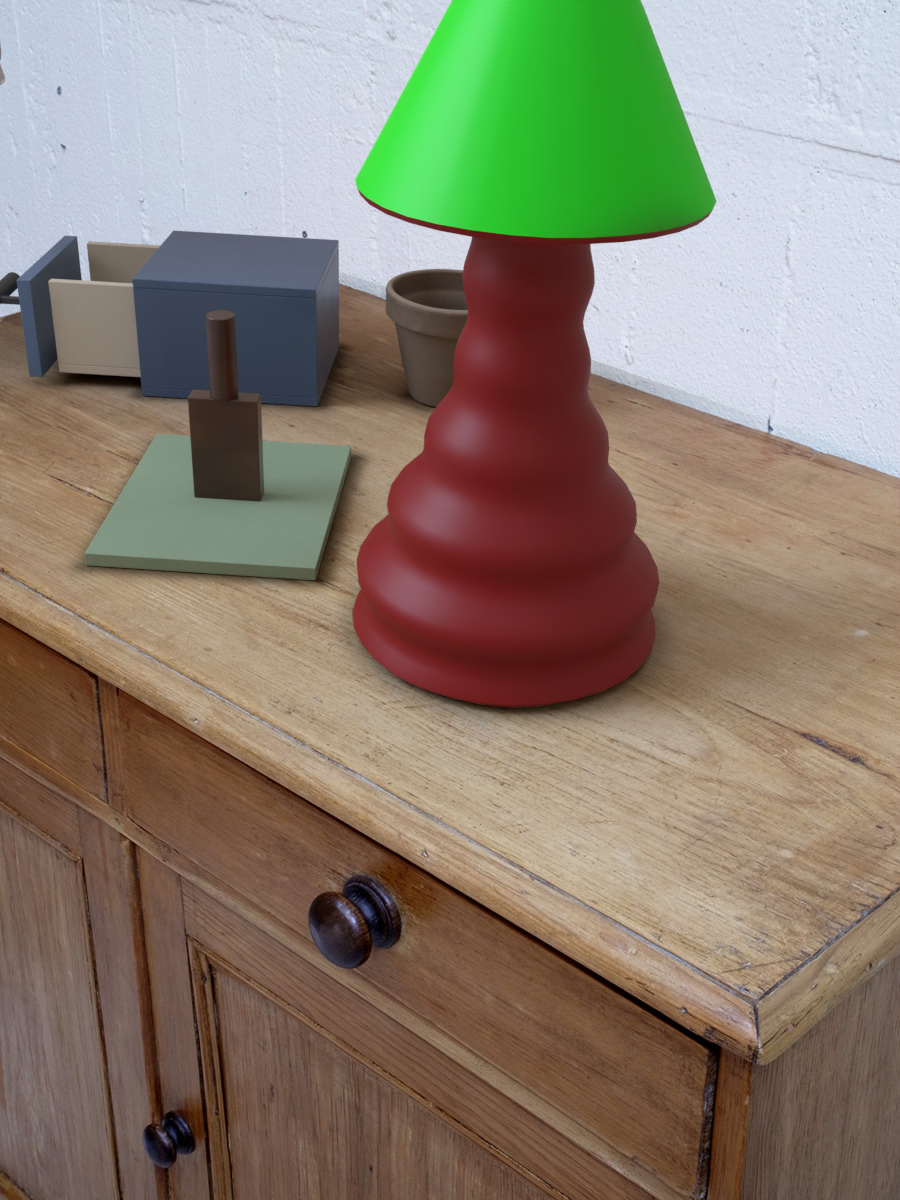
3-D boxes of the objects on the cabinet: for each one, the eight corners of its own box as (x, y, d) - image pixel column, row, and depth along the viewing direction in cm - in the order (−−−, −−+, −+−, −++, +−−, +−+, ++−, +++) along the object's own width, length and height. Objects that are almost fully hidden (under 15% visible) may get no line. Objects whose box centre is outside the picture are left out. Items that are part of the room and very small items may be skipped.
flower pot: (536, 398, 119) (545, 290, 114) (450, 432, 112) (455, 319, 107) (444, 362, 126) (448, 259, 121) (357, 392, 119) (358, 283, 113)
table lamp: (421, 528, 97) (444, -176, 74) (684, 587, 91) (799, -158, 68) (299, 665, 81) (279, -176, 58) (607, 747, 76) (724, -151, 52)
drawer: (-24, 373, 117) (-39, 276, 112) (26, 322, 128) (14, 232, 123) (191, 386, 116) (184, 289, 111) (222, 334, 127) (217, 244, 123)
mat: (85, 565, 91) (84, 553, 90) (157, 444, 108) (156, 433, 107) (315, 580, 90) (315, 568, 90) (351, 456, 107) (351, 445, 107)
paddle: (193, 498, 98) (181, 317, 90) (199, 486, 99) (187, 307, 92) (260, 503, 98) (253, 321, 90) (265, 491, 99) (258, 312, 92)
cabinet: (142, 396, 116) (131, 278, 111) (180, 338, 129) (173, 230, 123) (317, 406, 116) (316, 289, 110) (339, 347, 128) (338, 239, 123)
